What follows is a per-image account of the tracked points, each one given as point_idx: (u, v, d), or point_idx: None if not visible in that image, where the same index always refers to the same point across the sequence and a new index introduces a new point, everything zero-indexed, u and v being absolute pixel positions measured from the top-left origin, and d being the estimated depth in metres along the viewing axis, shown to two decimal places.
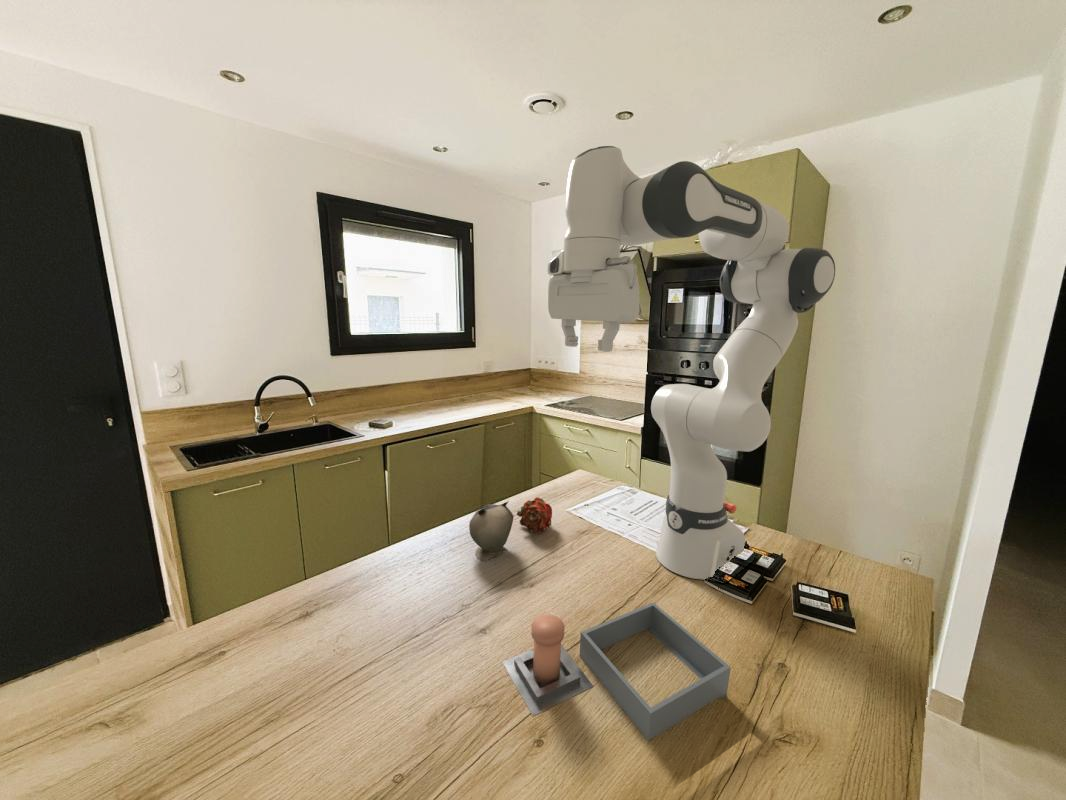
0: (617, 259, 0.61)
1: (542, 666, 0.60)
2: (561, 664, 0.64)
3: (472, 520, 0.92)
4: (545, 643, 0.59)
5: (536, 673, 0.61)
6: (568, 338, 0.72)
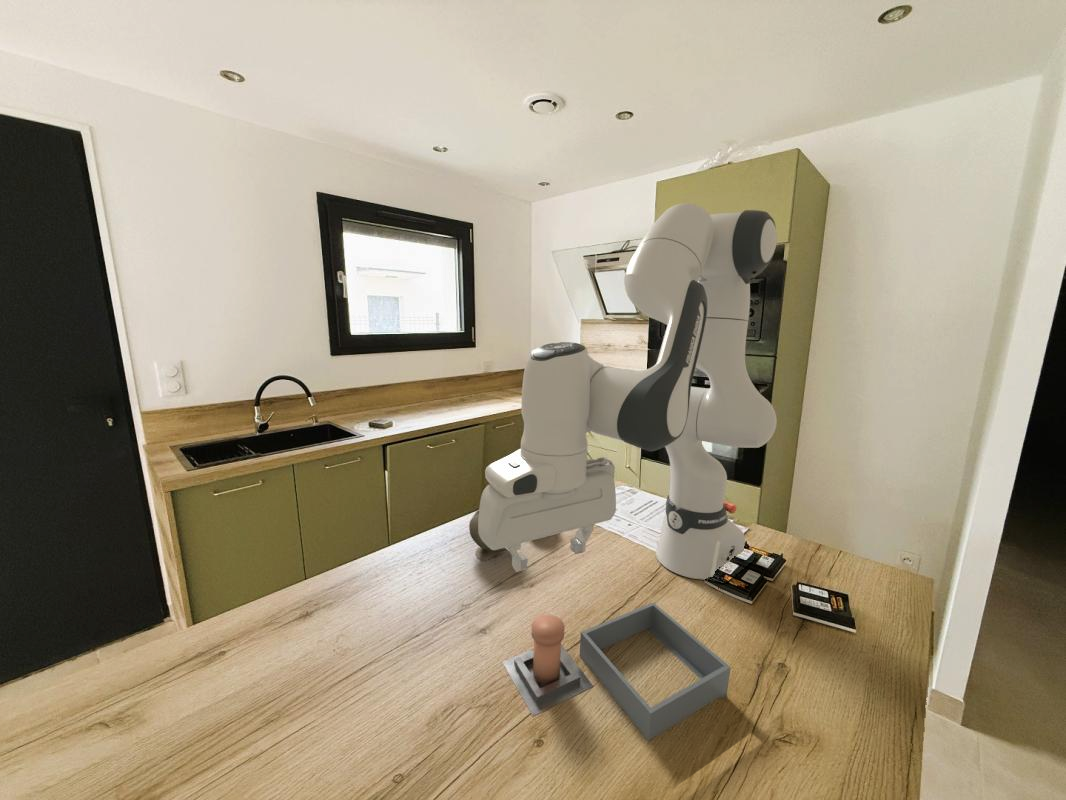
0: (596, 462, 0.59)
1: (542, 666, 0.60)
2: (561, 664, 0.64)
3: (472, 520, 0.92)
4: (545, 643, 0.59)
5: (536, 673, 0.61)
6: (525, 561, 0.56)
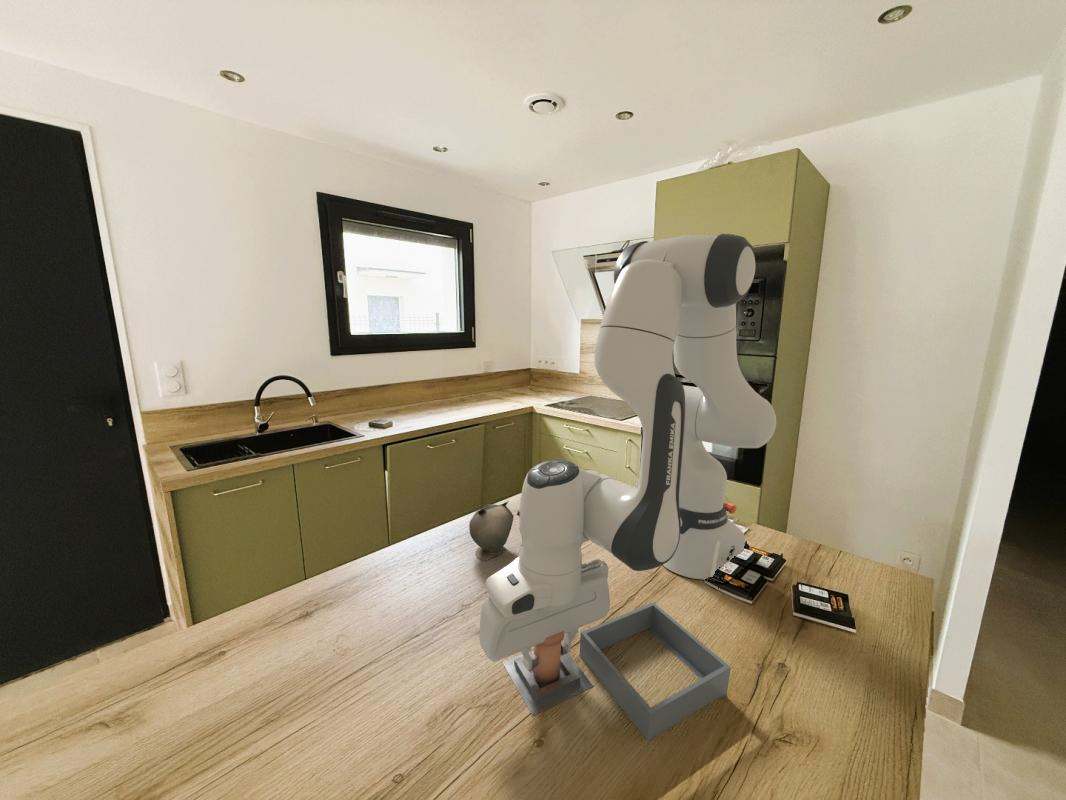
0: (590, 565, 0.62)
1: (542, 666, 0.60)
2: (561, 664, 0.64)
3: (472, 520, 0.92)
4: (545, 643, 0.59)
5: (536, 673, 0.61)
6: (535, 660, 0.60)
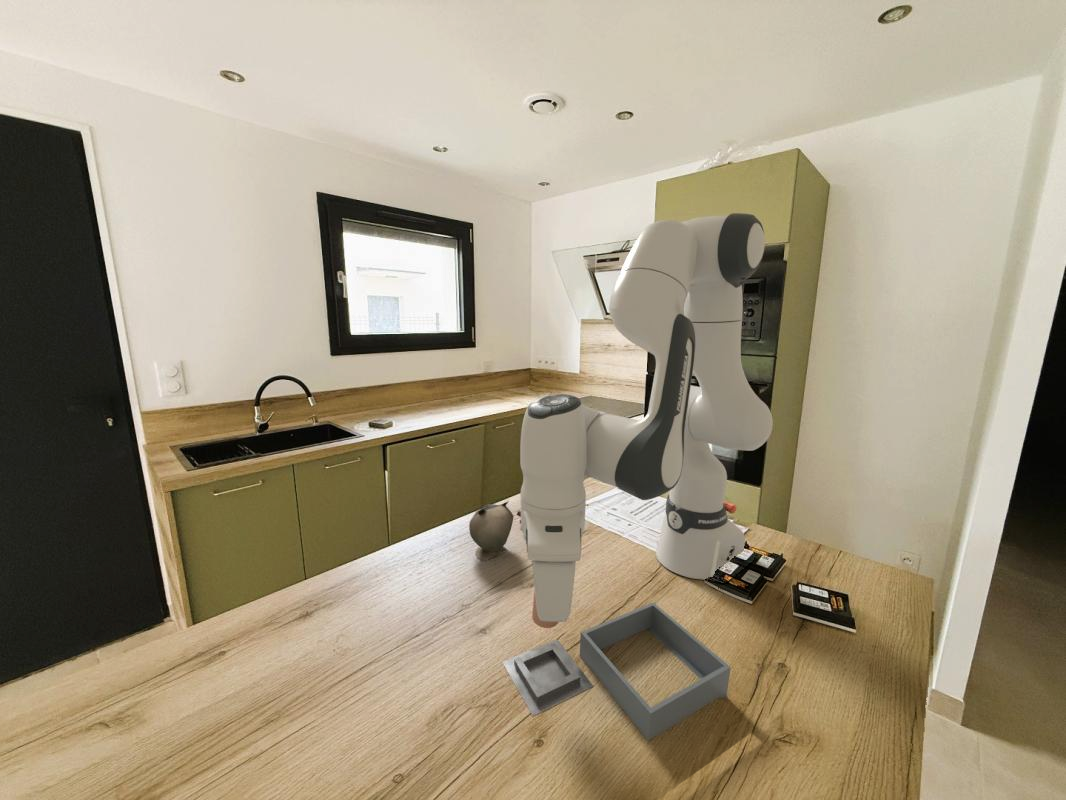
0: None
1: None
2: (561, 664, 0.64)
3: (472, 520, 0.92)
4: None
5: None
6: None
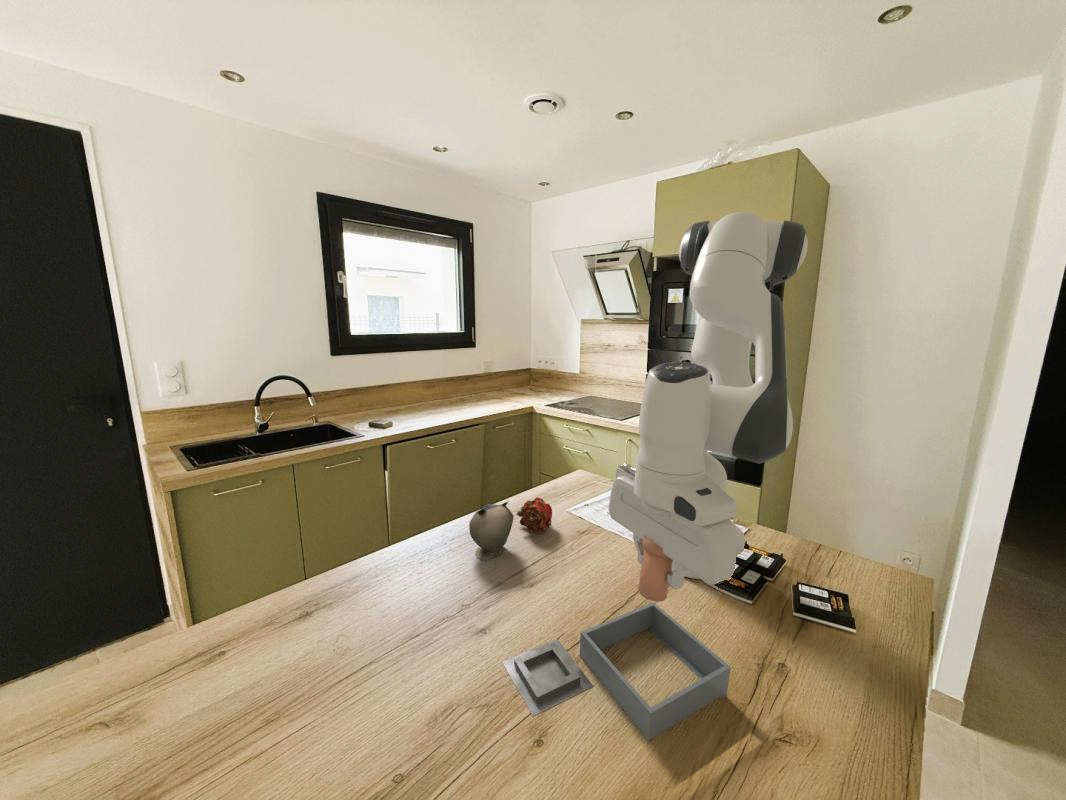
0: None
1: None
2: (561, 664, 0.64)
3: (472, 520, 0.92)
4: None
5: (663, 592, 0.58)
6: None
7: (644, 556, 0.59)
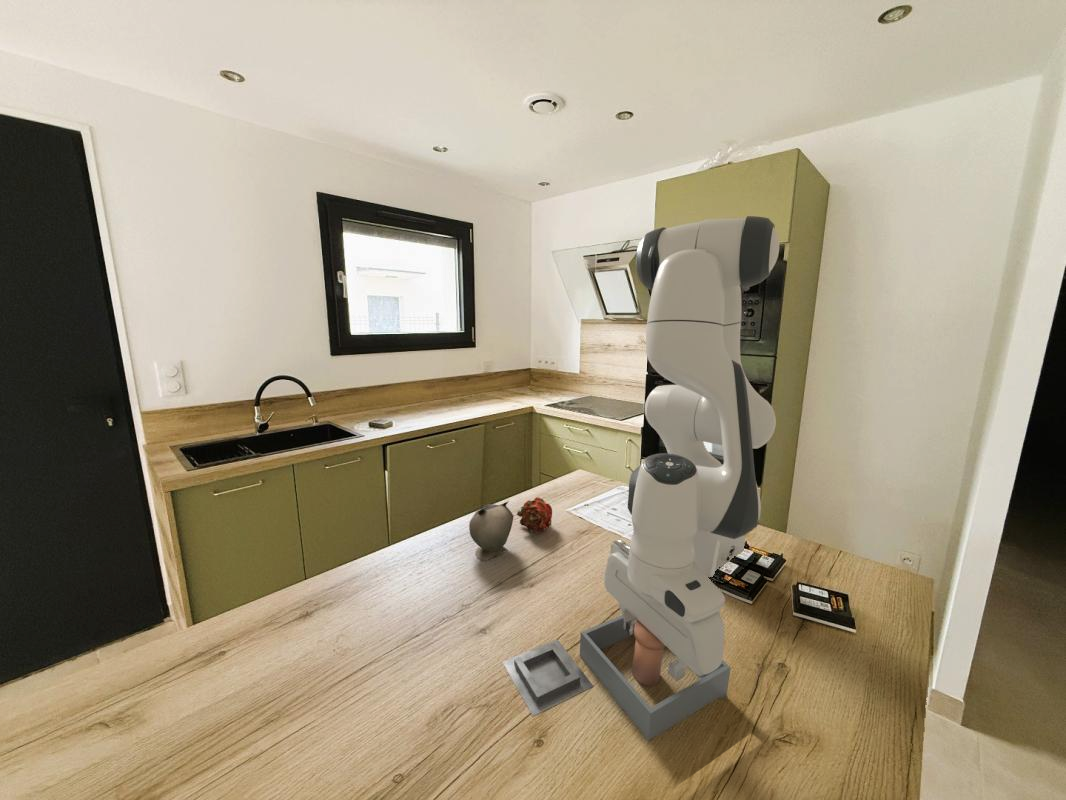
0: (629, 546, 0.66)
1: None
2: (561, 664, 0.64)
3: (472, 520, 0.92)
4: None
5: (655, 678, 0.61)
6: None
7: (636, 644, 0.61)
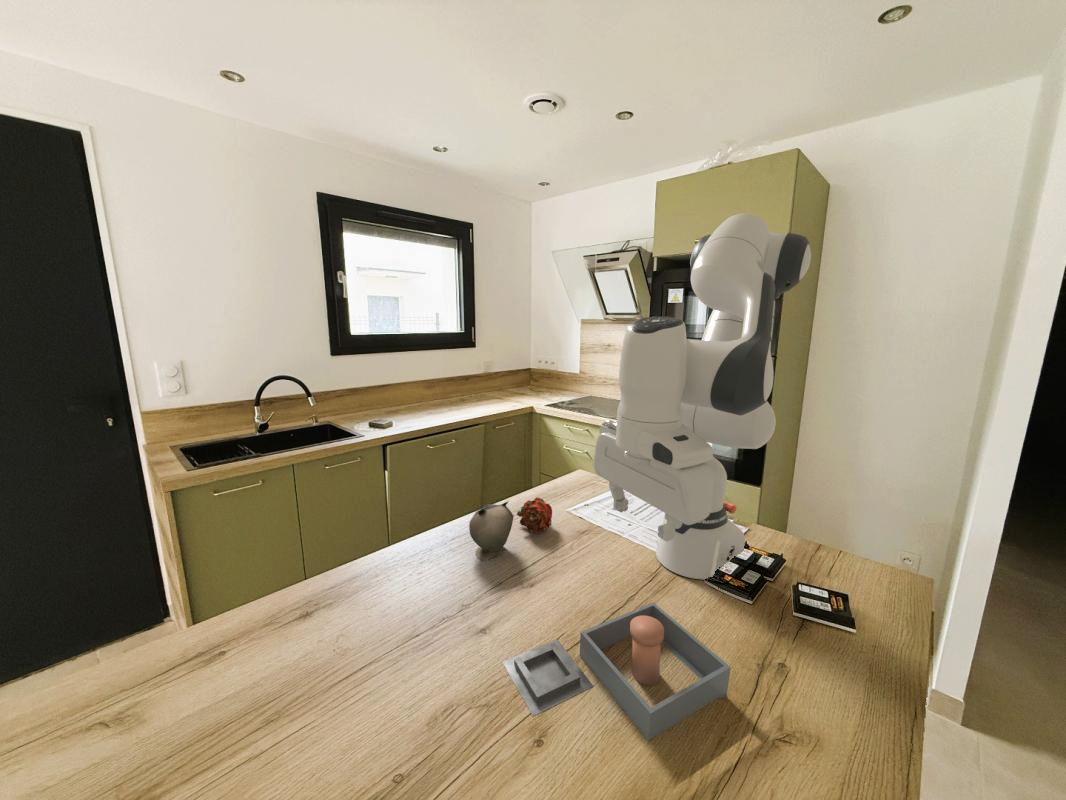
0: None
1: (659, 662, 0.61)
2: (561, 664, 0.64)
3: (472, 520, 0.92)
4: (663, 635, 0.61)
5: (655, 676, 0.61)
6: None
7: (633, 643, 0.62)
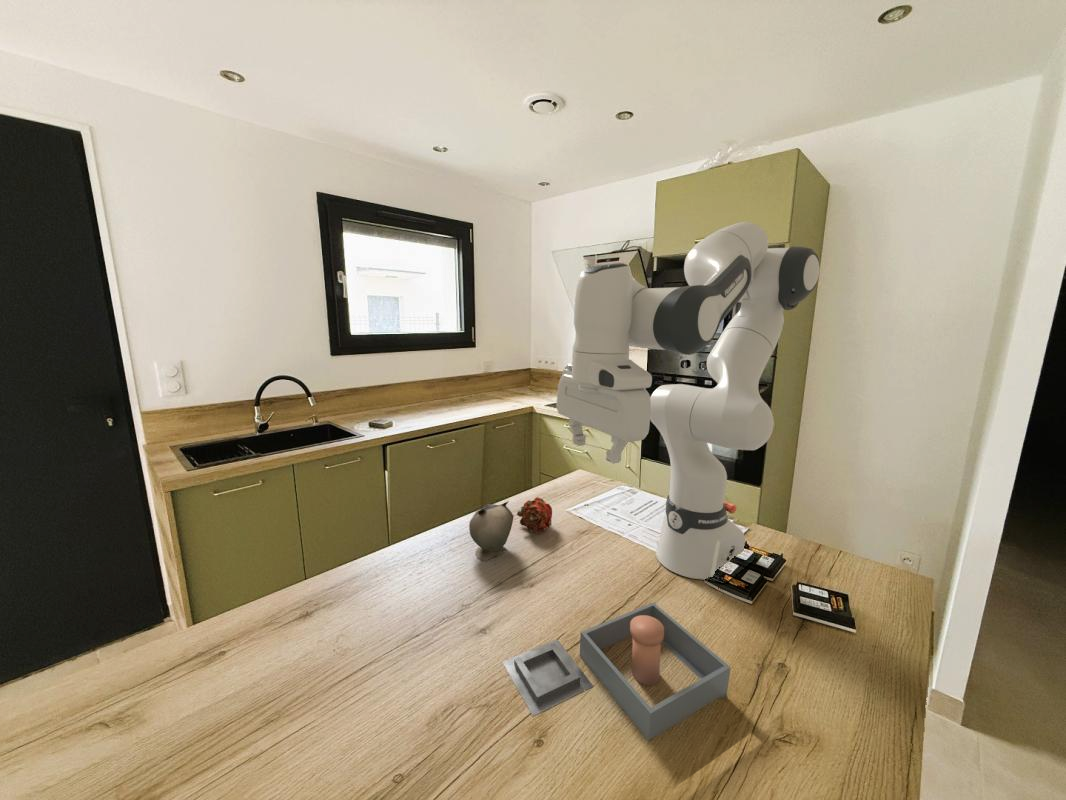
0: None
1: (659, 661, 0.62)
2: (561, 664, 0.64)
3: (472, 520, 0.92)
4: (663, 634, 0.61)
5: (656, 676, 0.61)
6: None
7: (633, 644, 0.62)
